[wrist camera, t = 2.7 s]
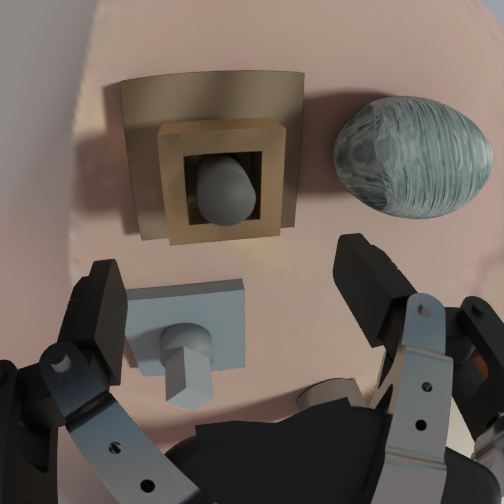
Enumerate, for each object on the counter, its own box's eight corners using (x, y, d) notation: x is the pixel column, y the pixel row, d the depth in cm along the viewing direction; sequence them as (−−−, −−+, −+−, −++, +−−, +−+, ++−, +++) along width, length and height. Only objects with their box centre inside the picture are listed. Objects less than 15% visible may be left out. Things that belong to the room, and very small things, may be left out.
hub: (241, 279, 29) (260, 351, 22) (242, 356, 36) (256, 419, 29) (114, 290, 27) (101, 364, 20) (143, 366, 34) (141, 429, 27)
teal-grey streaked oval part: (319, 227, 24) (428, 233, 14) (302, 105, 22) (400, 58, 13) (422, 210, 29) (507, 212, 20) (410, 120, 27) (491, 101, 18)
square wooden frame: (271, 117, 17) (285, 128, 15) (268, 212, 21) (279, 235, 19) (161, 123, 16) (156, 135, 14) (171, 220, 20) (170, 245, 18)
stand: (297, 72, 20) (353, 82, 13) (288, 217, 26) (325, 282, 20) (124, 80, 18) (87, 92, 11) (143, 230, 24) (130, 303, 18)
